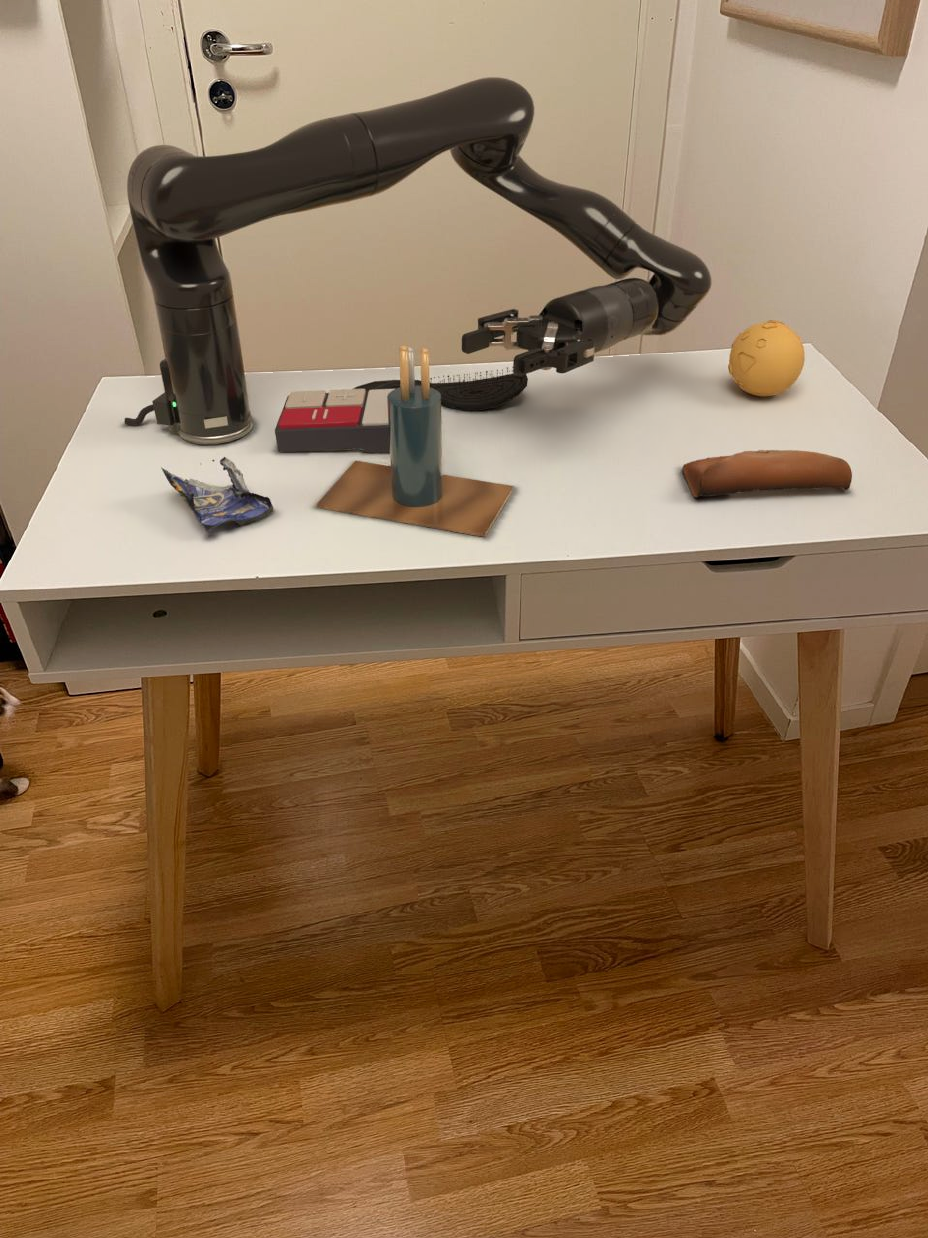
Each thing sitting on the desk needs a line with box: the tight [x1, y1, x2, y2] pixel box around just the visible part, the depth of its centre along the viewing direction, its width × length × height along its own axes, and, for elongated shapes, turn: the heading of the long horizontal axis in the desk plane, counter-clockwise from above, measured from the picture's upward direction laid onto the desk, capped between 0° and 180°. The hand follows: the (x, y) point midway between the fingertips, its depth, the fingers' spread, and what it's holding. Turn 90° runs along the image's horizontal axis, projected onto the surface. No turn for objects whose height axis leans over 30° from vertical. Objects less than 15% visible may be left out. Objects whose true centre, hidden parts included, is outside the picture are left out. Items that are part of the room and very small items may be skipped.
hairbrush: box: [352, 366, 529, 412], centre depth 132 cm, size 8×4×25 cm
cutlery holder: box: [387, 344, 443, 507], centre depth 105 cm, size 6×6×18 cm
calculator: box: [274, 388, 394, 454], centre depth 123 cm, size 11×4×15 cm
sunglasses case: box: [681, 449, 853, 499], centre depth 113 cm, size 18×7×7 cm, turn 96°
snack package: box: [160, 456, 274, 538], centre depth 107 cm, size 12×6×12 cm
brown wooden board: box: [316, 460, 514, 538], centre depth 111 cm, size 20×11×1 cm, turn 72°
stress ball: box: [727, 319, 806, 397], centre depth 131 cm, size 10×10×10 cm
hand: (488, 355), depth 108 cm, fingers open, 8 cm apart
